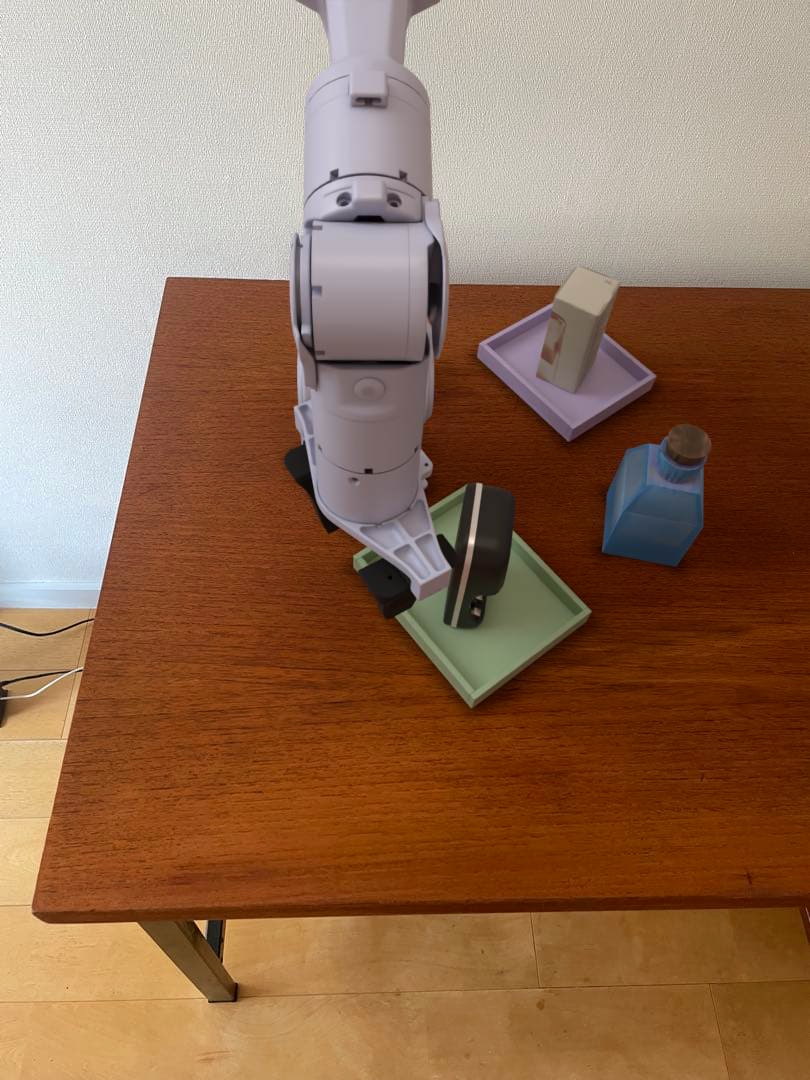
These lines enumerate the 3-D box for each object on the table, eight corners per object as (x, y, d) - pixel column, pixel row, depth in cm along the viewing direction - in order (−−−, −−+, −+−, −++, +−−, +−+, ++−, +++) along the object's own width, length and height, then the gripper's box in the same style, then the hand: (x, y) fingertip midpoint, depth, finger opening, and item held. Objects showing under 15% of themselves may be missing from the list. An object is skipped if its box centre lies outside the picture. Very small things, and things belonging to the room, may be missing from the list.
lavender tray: (476, 357, 78) (479, 342, 76) (558, 311, 82) (562, 297, 80) (568, 442, 73) (573, 429, 71) (650, 389, 77) (657, 375, 75)
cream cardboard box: (555, 344, 79) (578, 261, 70) (595, 362, 78) (624, 280, 69) (531, 377, 76) (552, 295, 68) (573, 396, 75) (600, 315, 67)
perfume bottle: (676, 566, 67) (733, 482, 56) (602, 552, 67) (645, 466, 57) (677, 506, 70) (731, 417, 60) (607, 493, 70) (648, 401, 60)
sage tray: (353, 567, 65) (352, 555, 64) (465, 496, 69) (467, 483, 68) (471, 709, 59) (474, 700, 58) (586, 621, 64) (592, 611, 62)
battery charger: (489, 637, 62) (513, 564, 52) (441, 628, 62) (456, 554, 52) (498, 560, 66) (522, 479, 56) (453, 553, 66) (468, 470, 56)
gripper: (510, 497, 40) (478, 621, 51) (364, 322, 46) (364, 467, 58) (390, 557, 38) (384, 674, 49) (254, 365, 44) (276, 507, 56)
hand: (367, 565), depth 53 cm, fingers open, 7 cm apart
